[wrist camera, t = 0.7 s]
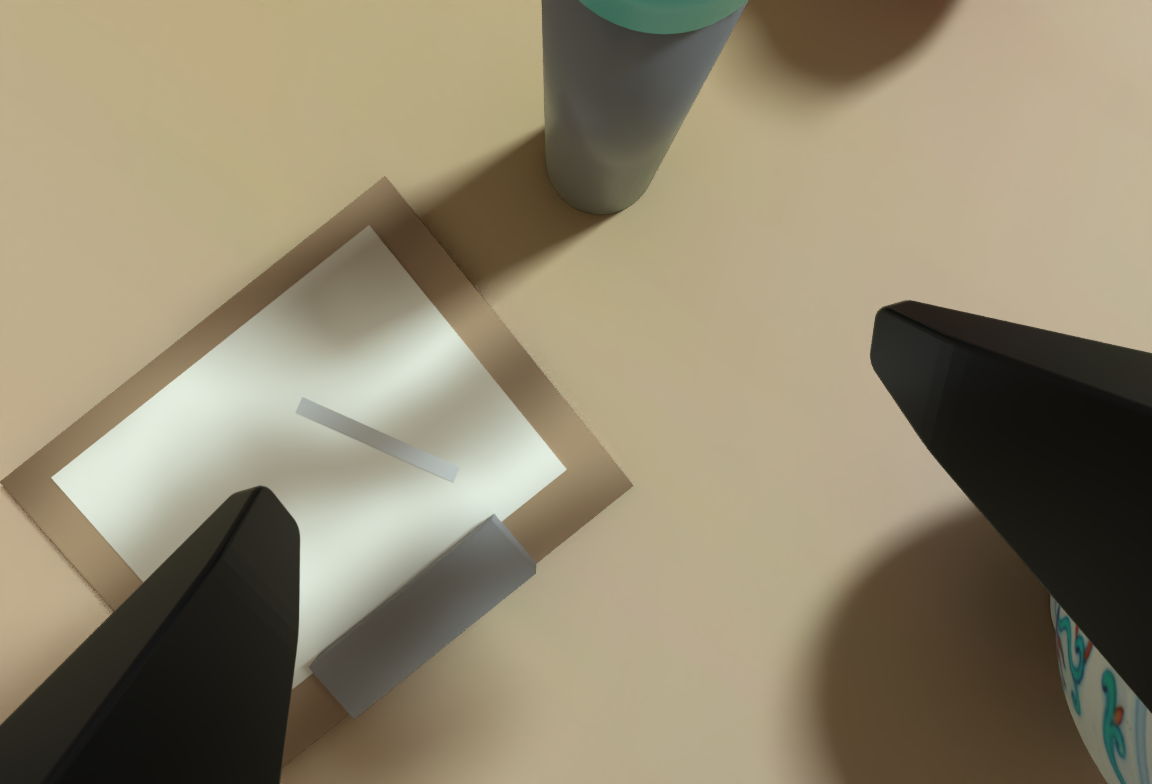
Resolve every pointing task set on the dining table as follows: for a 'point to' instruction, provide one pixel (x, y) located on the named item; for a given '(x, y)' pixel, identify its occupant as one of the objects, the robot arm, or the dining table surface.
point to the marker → (622, 89)
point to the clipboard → (338, 454)
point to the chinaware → (1103, 706)
